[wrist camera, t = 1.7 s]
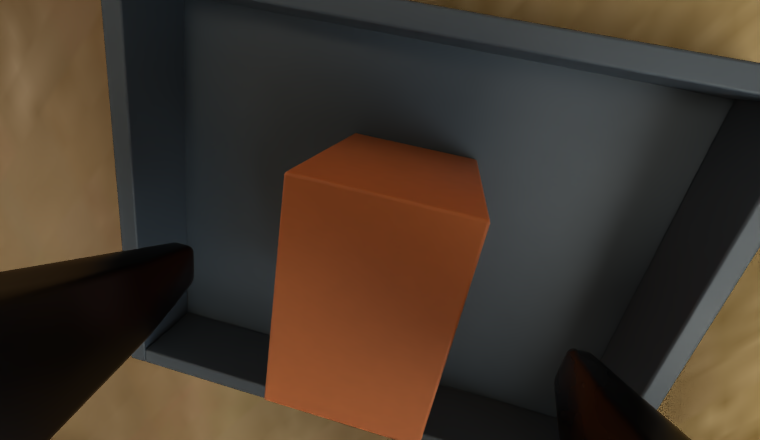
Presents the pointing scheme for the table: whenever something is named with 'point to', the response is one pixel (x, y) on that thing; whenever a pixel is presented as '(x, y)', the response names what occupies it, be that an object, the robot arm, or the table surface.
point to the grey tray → (453, 136)
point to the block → (372, 281)
